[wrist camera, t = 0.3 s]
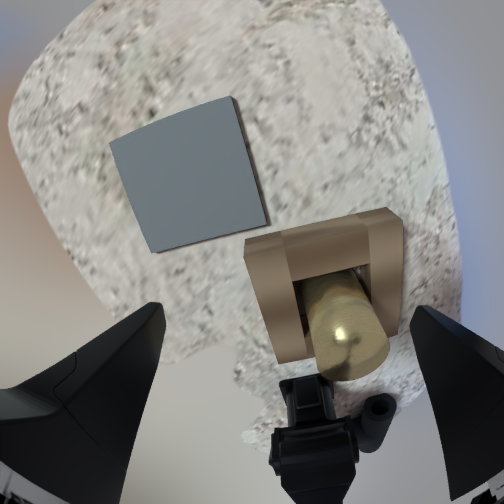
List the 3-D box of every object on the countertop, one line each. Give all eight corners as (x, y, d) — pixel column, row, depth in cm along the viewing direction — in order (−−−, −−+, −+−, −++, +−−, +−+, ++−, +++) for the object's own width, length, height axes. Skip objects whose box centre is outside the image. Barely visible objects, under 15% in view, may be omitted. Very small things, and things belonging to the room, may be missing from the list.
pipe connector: (324, 465, 36) (322, 438, 29) (320, 442, 41) (317, 408, 34) (385, 448, 35) (401, 415, 28) (378, 427, 39) (390, 388, 33)
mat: (266, 221, 21) (266, 224, 21) (153, 250, 23) (151, 253, 22) (230, 96, 17) (230, 95, 16) (112, 142, 18) (109, 142, 18)
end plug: (355, 298, 24) (386, 370, 16) (305, 310, 25) (320, 387, 17) (352, 253, 22) (392, 322, 14) (296, 266, 23) (313, 343, 15)
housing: (387, 315, 25) (397, 334, 23) (277, 342, 27) (278, 364, 24) (386, 206, 20) (402, 219, 18) (245, 239, 22) (243, 256, 19)
